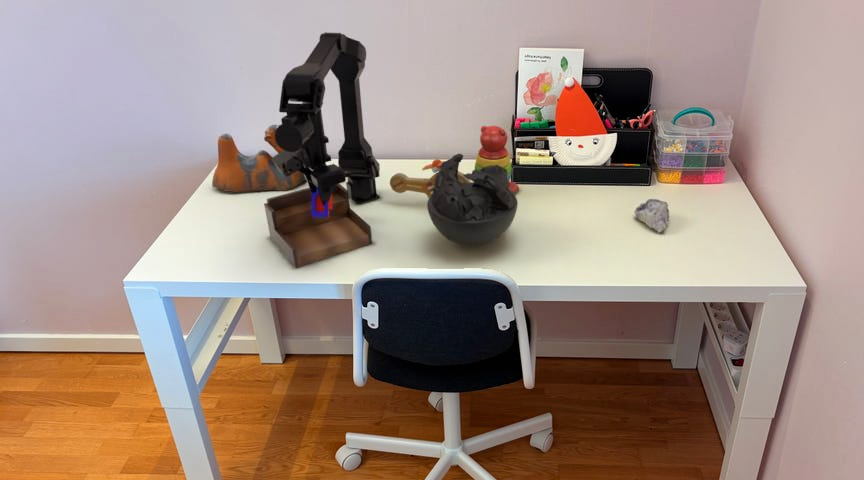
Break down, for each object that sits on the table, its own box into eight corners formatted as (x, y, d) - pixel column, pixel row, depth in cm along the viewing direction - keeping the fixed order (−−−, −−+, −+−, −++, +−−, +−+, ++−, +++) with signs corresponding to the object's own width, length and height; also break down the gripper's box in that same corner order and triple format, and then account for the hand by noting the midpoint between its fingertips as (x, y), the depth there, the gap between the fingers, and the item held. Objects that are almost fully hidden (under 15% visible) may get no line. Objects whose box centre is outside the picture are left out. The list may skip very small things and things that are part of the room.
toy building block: (332, 216, 162) (331, 180, 161) (328, 216, 157) (327, 179, 157) (316, 217, 162) (315, 180, 161) (311, 217, 158) (310, 179, 157)
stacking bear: (521, 189, 189) (523, 123, 179) (502, 204, 182) (502, 137, 172) (486, 180, 194) (485, 116, 184) (465, 195, 187) (463, 129, 177)
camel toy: (207, 194, 191) (193, 131, 182) (228, 172, 202) (215, 112, 193) (299, 197, 188) (288, 134, 179) (315, 176, 199) (306, 115, 190)
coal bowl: (520, 262, 158) (521, 183, 148) (428, 264, 158) (423, 186, 148) (513, 218, 175) (514, 145, 165) (430, 221, 175) (426, 148, 165)
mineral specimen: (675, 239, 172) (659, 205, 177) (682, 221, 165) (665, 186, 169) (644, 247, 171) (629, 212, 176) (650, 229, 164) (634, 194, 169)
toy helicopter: (466, 220, 175) (464, 167, 168) (386, 210, 181) (381, 159, 173) (475, 205, 182) (474, 154, 174) (398, 196, 187) (394, 146, 180)
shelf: (343, 216, 178) (338, 179, 173) (372, 243, 167) (368, 204, 161) (270, 238, 170) (263, 199, 165) (295, 268, 159) (288, 227, 153)
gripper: (258, 128, 155) (270, 194, 163) (289, 157, 141) (301, 227, 149) (307, 116, 159) (317, 181, 168) (342, 143, 146) (351, 212, 154)
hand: (320, 200), depth 160 cm, fingers closed on toy building block, 5 cm apart
